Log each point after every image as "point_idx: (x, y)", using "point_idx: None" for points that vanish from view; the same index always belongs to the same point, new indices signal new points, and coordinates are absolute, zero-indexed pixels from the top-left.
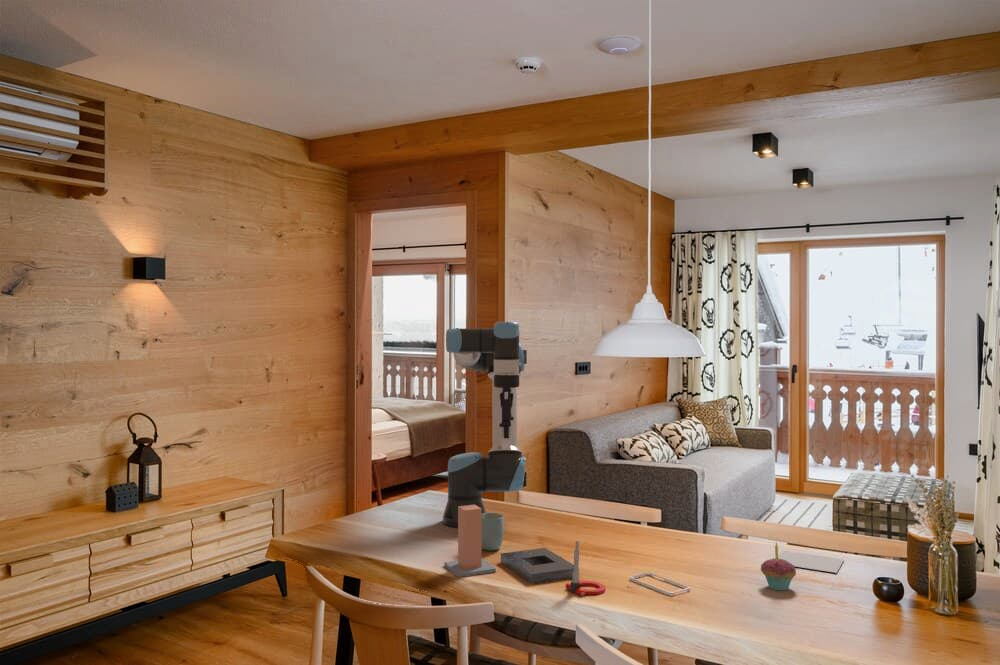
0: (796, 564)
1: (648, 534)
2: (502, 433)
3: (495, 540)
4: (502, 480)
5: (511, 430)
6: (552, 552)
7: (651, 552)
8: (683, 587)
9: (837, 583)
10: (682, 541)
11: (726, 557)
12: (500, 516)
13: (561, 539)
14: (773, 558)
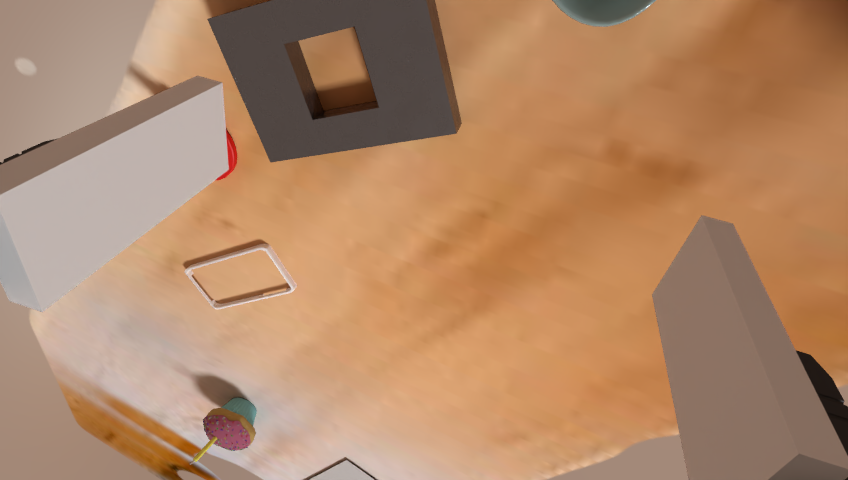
0: (336, 475)
1: (582, 415)
2: (57, 154)
3: None
4: None
5: (673, 400)
6: (403, 140)
7: (442, 356)
8: (227, 303)
9: (264, 462)
10: (505, 434)
11: (389, 433)
12: (616, 13)
13: (625, 226)
14: (232, 443)
